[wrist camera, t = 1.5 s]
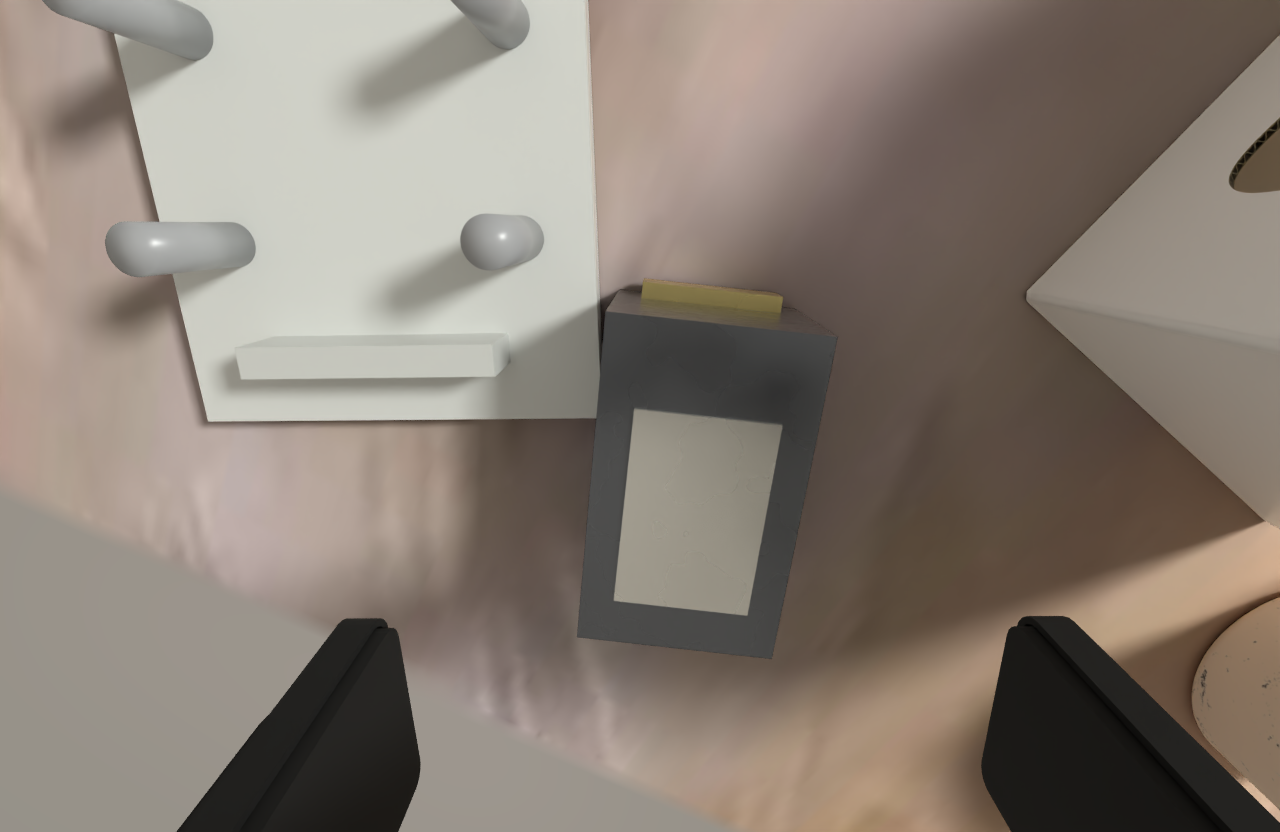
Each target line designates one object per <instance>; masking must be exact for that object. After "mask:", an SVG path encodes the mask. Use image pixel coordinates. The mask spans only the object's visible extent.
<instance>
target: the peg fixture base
mask: <svg viewBox="0 0 1280 832" xmlns="http://www.w3.org/2000/svg"><path fill="white" fill-rule="evenodd" d="M42 1H43V2H44V3H45V4H46V5H47V6H48V7H49V8H50V9H51V10H52V11H54V12H56V13H57V14H60V15H62V16H65V17H68V18H71V19H74V20H77V21H80V22H83V23H85V24H88V25H91V26H94V27H97V28H100V29H103V30H106V31H109V32H112V33H114V36H115V40H116V44H117V48H118V52H119V56H120V61H121V65H122V69H123V73H124V77H125V81H126V85H127V89H128V93H129V98H130V102H131V106H132V110H133V114H134V118H135V122H136V126H137V130H138V135H139V139H140V143H141V147H142V151H143V155H144V159H145V163H146V168H147V172H148V176H149V180H150V184H151V188H152V192H153V196H154V200H155V205H156V209H157V213H158V217H159V221H160V222H119V223H117V224H115V225H113V226H112V227H111V228H110V229H109V231H108V232H107V235H106V239H105V245H106V251H107V254H108V256H109V258H110V260H111V261H112V263H113V264H114V265H115V266H116V267H117V268H118V269H119V270H120V271H122V272H123V273H125V274H127V275H130V276H134V277H145V276H155V275H165V274H172V275H173V279H174V283H175V287H176V291H177V295H178V299H179V303H180V307H181V312H182V316H183V320H184V324H185V328H186V332H187V336H188V340H189V345H190V349H191V353H192V357H193V361H194V365H195V369H196V373H197V377H198V382H199V386H200V390H201V394H202V398H203V402H204V406H205V410H206V414H207V419H208V422H211V421H331V420H451V419H571V418H596V415H597V403H598V392H599V381H600V369H601V358H602V337H601V311H600V286H599V261H598V236H597V211H596V185H595V160H594V135H593V110H592V85H591V60H590V34H589V9H588V0H42Z"/></svg>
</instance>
